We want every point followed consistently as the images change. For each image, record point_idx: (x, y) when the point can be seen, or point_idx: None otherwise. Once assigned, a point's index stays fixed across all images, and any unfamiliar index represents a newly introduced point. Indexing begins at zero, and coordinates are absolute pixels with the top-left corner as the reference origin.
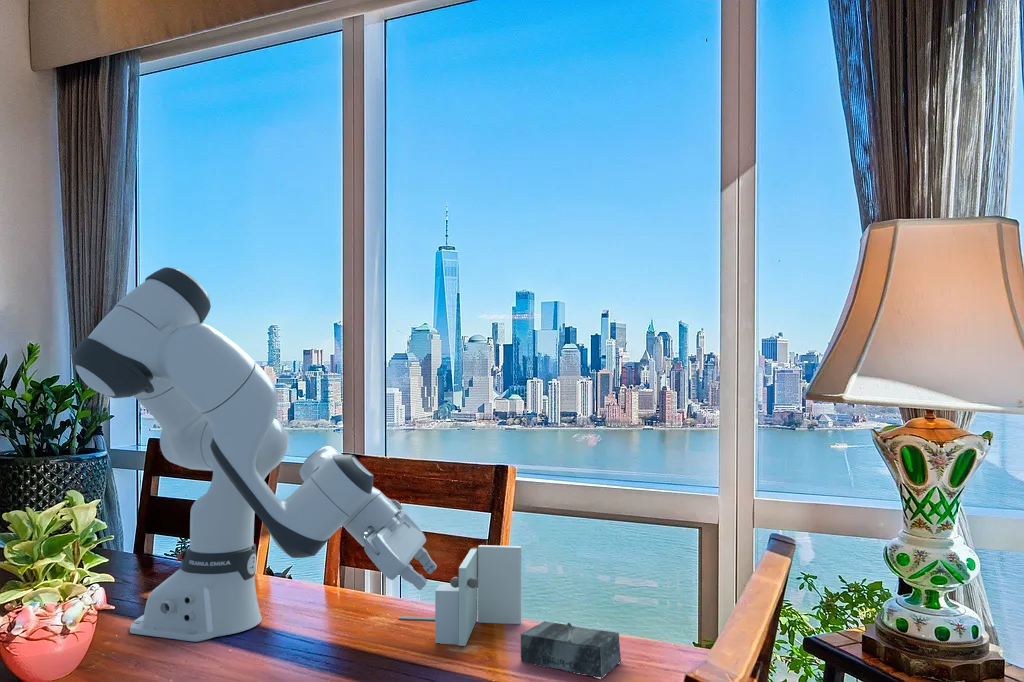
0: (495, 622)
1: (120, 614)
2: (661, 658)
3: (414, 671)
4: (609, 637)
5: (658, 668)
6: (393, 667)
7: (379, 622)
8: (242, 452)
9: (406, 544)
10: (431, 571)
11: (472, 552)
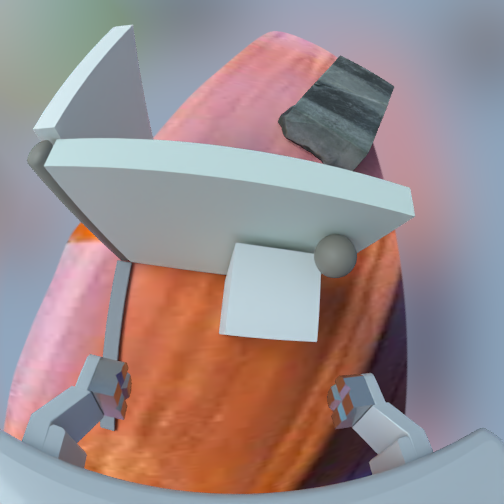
0: None
1: None
2: (304, 52)
3: (401, 349)
4: (360, 67)
5: (331, 62)
6: (387, 389)
7: (138, 467)
8: None
9: None
10: (127, 378)
11: (107, 149)
